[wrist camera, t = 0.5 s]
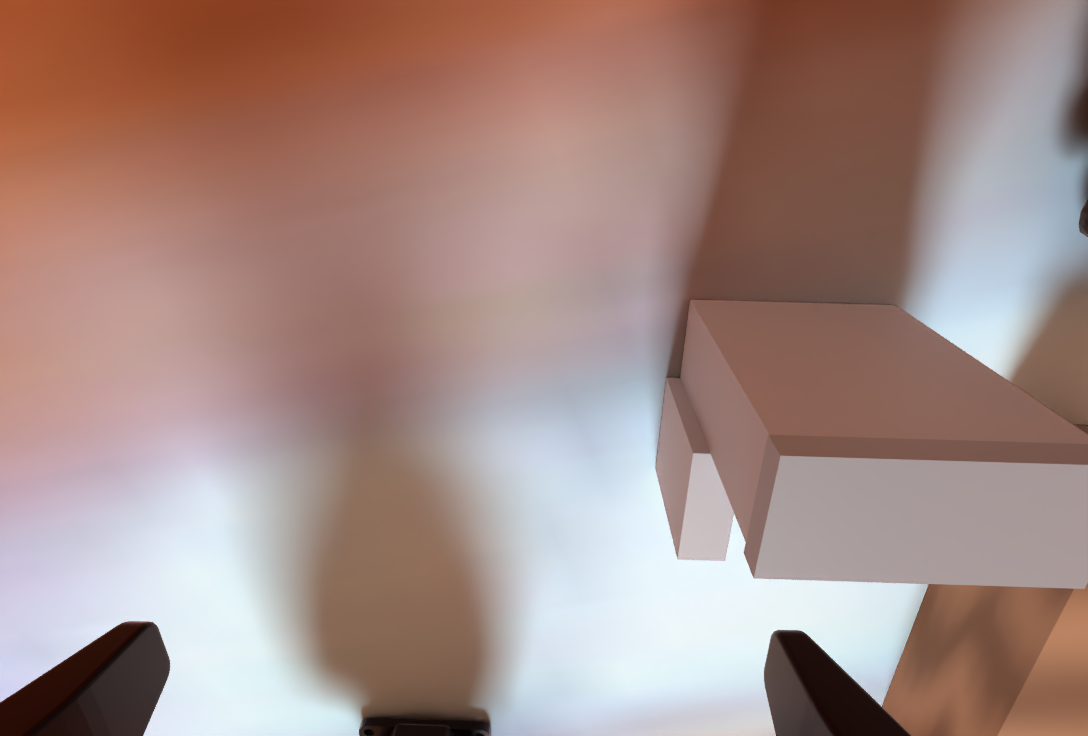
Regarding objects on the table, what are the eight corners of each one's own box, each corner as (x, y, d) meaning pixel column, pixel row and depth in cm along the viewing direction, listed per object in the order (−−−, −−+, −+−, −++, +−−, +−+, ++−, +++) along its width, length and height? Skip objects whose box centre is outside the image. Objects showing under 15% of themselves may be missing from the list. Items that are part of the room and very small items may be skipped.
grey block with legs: (860, 475, 24) (1037, 708, 15) (655, 469, 24) (711, 696, 15) (910, 302, 21) (1169, 467, 12) (675, 296, 21) (760, 454, 12)
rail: (957, 710, 30) (1042, 846, 24) (878, 707, 30) (946, 843, 24) (1090, 425, 23) (1248, 529, 18) (987, 422, 23) (1113, 524, 18)
